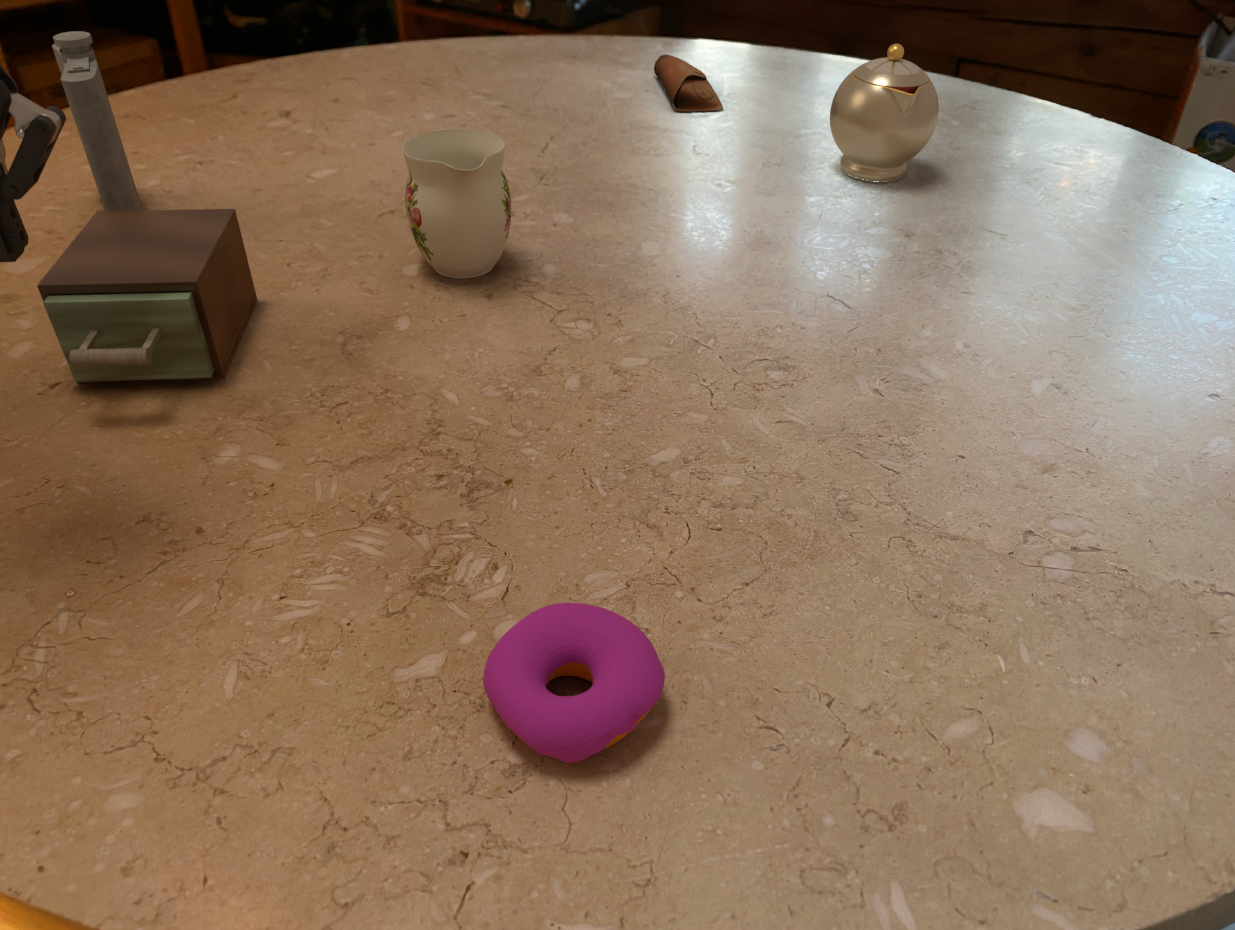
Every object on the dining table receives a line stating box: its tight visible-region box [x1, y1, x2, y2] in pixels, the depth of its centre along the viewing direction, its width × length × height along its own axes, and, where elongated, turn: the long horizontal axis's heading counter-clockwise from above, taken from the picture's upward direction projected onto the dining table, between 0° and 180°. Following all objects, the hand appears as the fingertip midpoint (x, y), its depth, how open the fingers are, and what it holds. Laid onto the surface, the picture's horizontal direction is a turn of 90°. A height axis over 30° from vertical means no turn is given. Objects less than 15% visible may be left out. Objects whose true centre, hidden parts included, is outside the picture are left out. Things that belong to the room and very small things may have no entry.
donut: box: [482, 602, 666, 764], centre depth 57 cm, size 10×10×5 cm
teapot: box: [829, 43, 940, 184], centre depth 123 cm, size 18×14×16 cm
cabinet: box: [36, 208, 258, 384], centre depth 87 cm, size 15×13×10 cm
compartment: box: [42, 291, 214, 383], centre depth 84 cm, size 18×12×8 cm, turn 5°
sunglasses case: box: [653, 54, 724, 113], centre depth 150 cm, size 18×7×7 cm, turn 8°
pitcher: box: [401, 128, 512, 279], centre depth 100 cm, size 11×18×14 cm, turn 19°
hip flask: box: [51, 30, 144, 211], centre depth 105 cm, size 16×4×20 cm, turn 28°
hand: (7, 256), depth 62 cm, fingers closed
